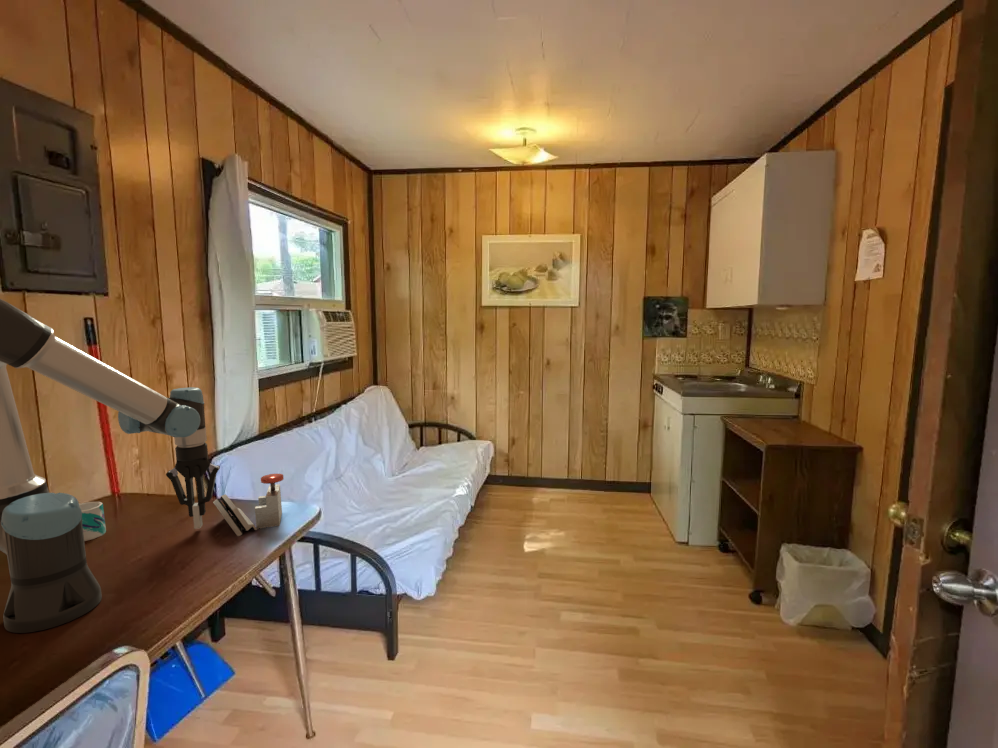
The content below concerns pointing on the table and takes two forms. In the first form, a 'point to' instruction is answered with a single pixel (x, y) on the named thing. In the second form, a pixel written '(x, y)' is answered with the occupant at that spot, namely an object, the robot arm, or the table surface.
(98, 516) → the mug
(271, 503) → the valve body
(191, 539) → the table surface
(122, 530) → the table surface
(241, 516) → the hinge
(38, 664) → the table surface
